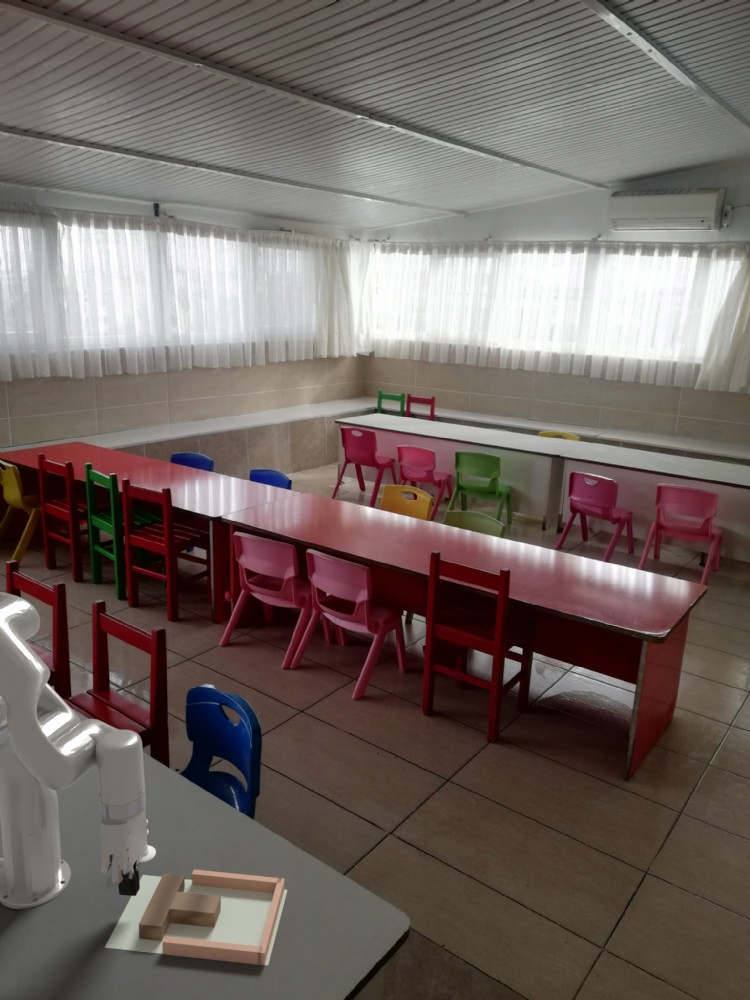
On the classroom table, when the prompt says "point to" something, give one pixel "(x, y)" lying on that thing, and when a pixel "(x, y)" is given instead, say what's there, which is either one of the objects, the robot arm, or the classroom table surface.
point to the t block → (177, 908)
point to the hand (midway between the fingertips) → (129, 892)
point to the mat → (234, 925)
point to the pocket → (228, 949)
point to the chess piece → (147, 852)
